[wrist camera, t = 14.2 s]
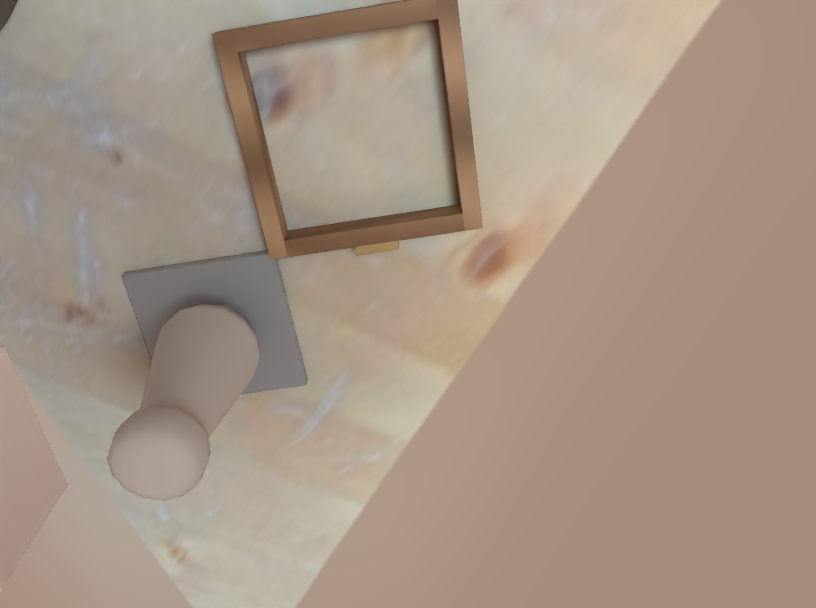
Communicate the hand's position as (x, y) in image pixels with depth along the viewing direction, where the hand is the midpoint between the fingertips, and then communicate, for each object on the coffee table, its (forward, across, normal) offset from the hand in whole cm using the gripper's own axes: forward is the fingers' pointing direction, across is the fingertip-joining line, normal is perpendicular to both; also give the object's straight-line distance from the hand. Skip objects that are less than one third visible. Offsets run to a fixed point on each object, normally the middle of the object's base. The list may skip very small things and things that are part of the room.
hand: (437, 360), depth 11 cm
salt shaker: (+28, -14, -12) cm, 34 cm away
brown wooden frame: (+29, -3, -2) cm, 29 cm away
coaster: (+29, -14, -12) cm, 34 cm away
